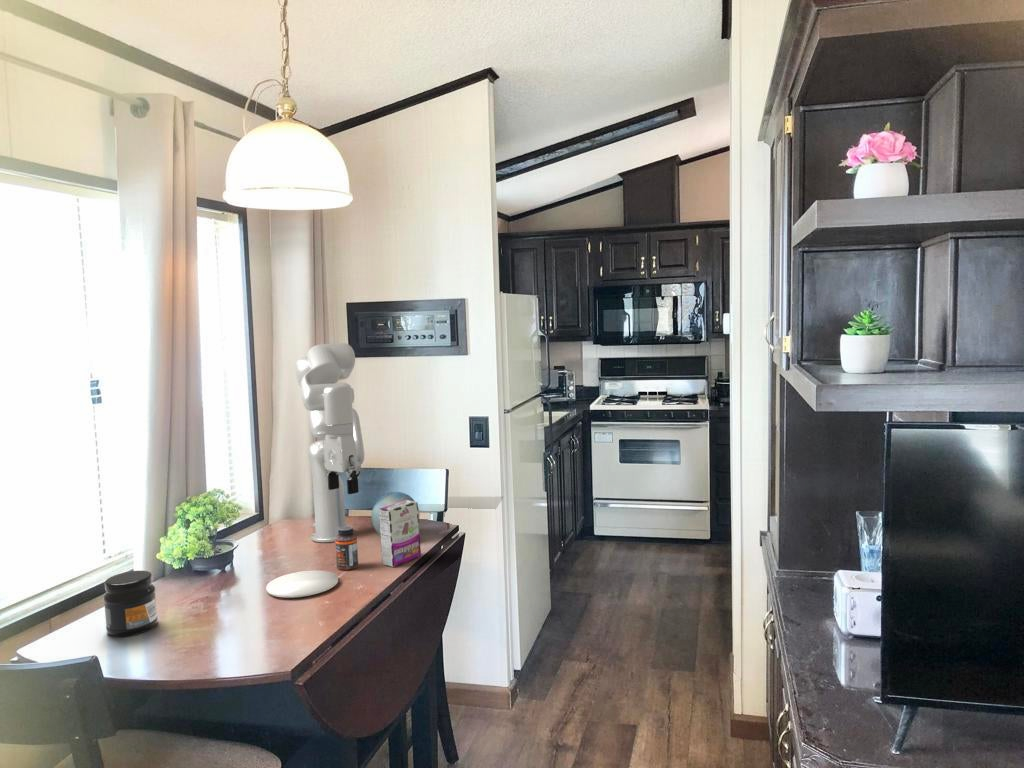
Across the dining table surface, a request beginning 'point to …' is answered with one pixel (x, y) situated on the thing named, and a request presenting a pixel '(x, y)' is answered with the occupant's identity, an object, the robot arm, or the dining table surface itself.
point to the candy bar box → (399, 533)
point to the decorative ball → (386, 501)
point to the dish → (302, 584)
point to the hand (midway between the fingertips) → (343, 491)
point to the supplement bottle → (346, 549)
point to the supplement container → (130, 603)
